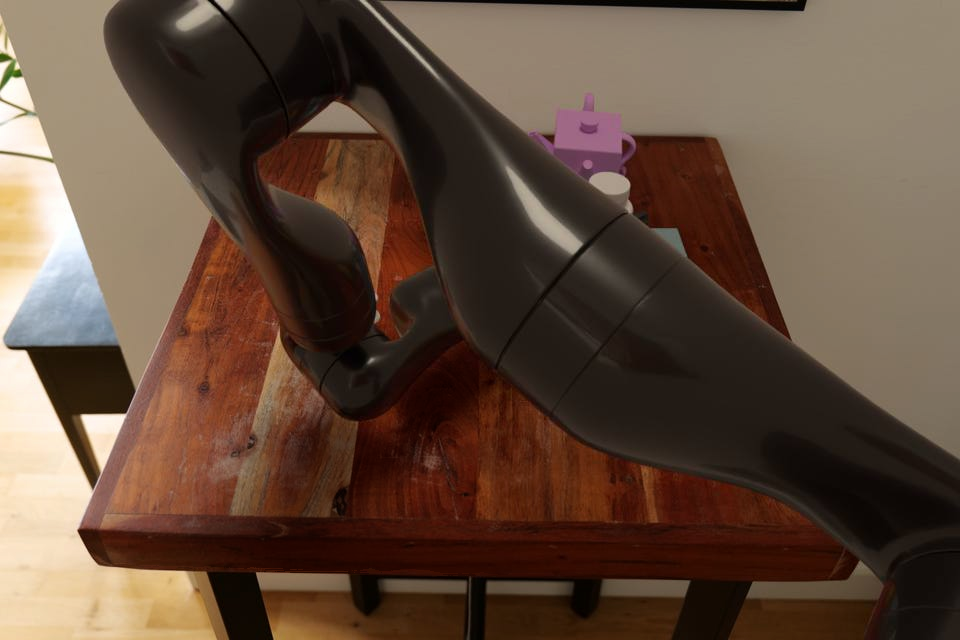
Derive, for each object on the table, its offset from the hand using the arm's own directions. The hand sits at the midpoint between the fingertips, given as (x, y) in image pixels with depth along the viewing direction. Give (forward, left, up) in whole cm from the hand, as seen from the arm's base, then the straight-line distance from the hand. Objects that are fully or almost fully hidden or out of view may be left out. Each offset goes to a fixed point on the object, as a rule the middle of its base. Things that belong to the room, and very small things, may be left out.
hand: (620, 206), depth 85 cm
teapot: (+20, +1, -12) cm, 23 cm away
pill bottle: (-2, +2, -6) cm, 7 cm away
